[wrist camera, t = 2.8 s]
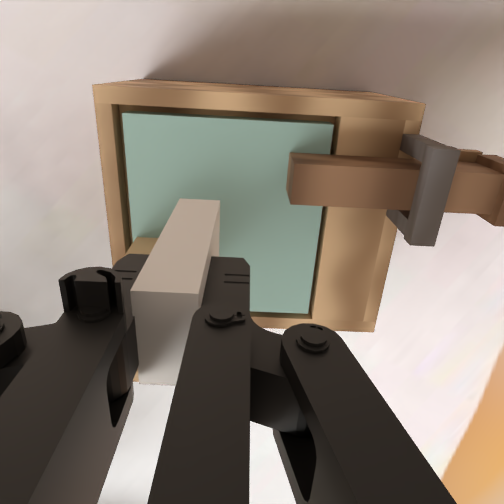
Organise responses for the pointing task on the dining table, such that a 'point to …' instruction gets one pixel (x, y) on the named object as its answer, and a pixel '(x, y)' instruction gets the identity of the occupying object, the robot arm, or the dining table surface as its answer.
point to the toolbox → (333, 218)
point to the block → (392, 183)
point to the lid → (230, 192)
